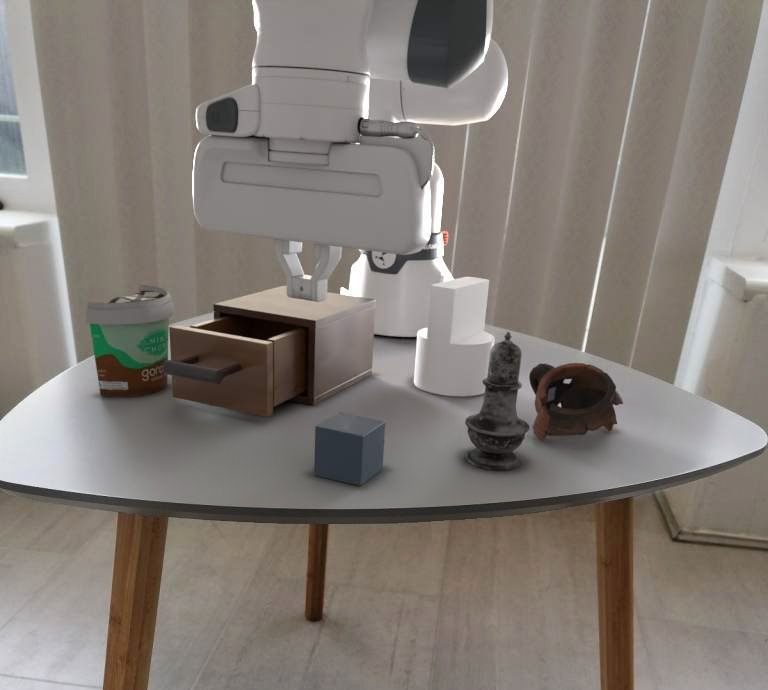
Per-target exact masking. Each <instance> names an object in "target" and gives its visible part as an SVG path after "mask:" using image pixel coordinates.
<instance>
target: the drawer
mask: <svg viewBox="0 0 768 690" xmlns="http://www.w3.org/2000/svg"><path fill="white" fill-rule="evenodd" d="M308 339H309V327H305V326H299V325H293V324H287V323H281V322H275V321H269V320H263V319H257V318H251V317H244V316H238V315H232V314H229V315H226V316H222V317H219V318H215V319H214V318H212V319H208V320H206V321H202V322H198V323H195V324H191V325H190V326H184V325H179V324H178V325H177V324H176V325H172V326H169V349H170V359H168V360H166V361H165V362H164V363H163V372H164V373H165V374H167V375H168V376H171V388H172V391H171V392H172V398H175V399H180V400H184V401H190V402H193V403H199V404H204V405H208V406H212V407H218V408H221V409H226V410H231V411H236V412H240V413H245V414H250V415H254V416H260V417H265V418H268V417H270V416H272V415H273V414H274V407H276V406H279V405H281V404H282V403H284V402H286V401H290V400H289V399H291V398H293V397H295V396H297V395H299V394H301V393H303V392H305V391H307V390H308Z"/></svg>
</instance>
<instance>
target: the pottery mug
mask: <svg viewBox="0 0 768 690" xmlns="http://www.w3.org/2000/svg"><path fill="white" fill-rule="evenodd" d="M565 380H570V382H569V383H566V382H565ZM529 383H530V386H531V389H532V391H533V393H534V395H535V397H534V408H535V412H536V414H537V415H536V417H535V419H534V422H533V425H532V433H533V434H534V436H535V437H537V439H538V440H539V441H540V442H543V441H544V440H545V439H546V438H547V436H550V437H551V436H552V437H562V436H584V435H586V434H588V431H591V432H595V431H598V430H599V429H600V428H603V427H604V428H605V429H606V430H607V431H608V432H612V431H613V428H614V426H615V425H618V420H617V414H616V411H615V408H614V406H619V405H623V404H624V401H623V398H622V396H621V395H620V393H619V392H618V390H617V386H616V383H615V382H614V381H613V378H612V377H611V376H610V375H609V374H608V373H607V372H605V371H604V370H603V369H601V368H599V367H597V366H595V365H592V364H587V363H584V362H569V363H565V364H562V365H558V366H556V367H555V366H554V365H551V364H548V363H539V364H537V365H536V366H533V367H532V369H531V371H530V372H529ZM559 405H560V406H559Z"/></svg>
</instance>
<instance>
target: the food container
mask: <svg viewBox="0 0 768 690" xmlns="http://www.w3.org/2000/svg"><path fill="white" fill-rule="evenodd" d="M174 305H175V304H174V301H173V298H172V297H171V295H170V293H169V291H168V289H166V288H164V287H160V286H157V285H153V284H145V283H138V291H137V292H136V293H133V294H131V295H121V296H119V295H118V296H116V297H113V298H112V299H111V300H109V301H108V302H95V301H86V311H85V323H86V324H89V327H90V334H91V341H92V347H93V355H94V361H95V368H96V374H97V381H98V388H99V394H100V396H103V397H123V398H124V397H138V396H145V395H150V394H155V393H156V392H157V393H158V392H160V391H162V390H164V389H165V388H166V387H167V386H168V376H169V375H167V374H165V373H164V372H163V363H164V362H165V361H166V360H169V336H170V333H169V327H170V318H171V317H173V316H174V315H175V314H176V309H175V306H174Z"/></svg>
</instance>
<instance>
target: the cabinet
mask: <svg viewBox="0 0 768 690" xmlns="http://www.w3.org/2000/svg"><path fill="white" fill-rule="evenodd" d="M212 305H213V307H212V309H213V319H215V318H219V317H222V316H226V315H229V314H232V315H238V316H244V317H251V318H257V319H263V320H269V321H275V322H281V323H287V324H293V325H299V326H305V327H309V339H308V390H307V391H305V392H303V393H301V394H299V395H297V396H295V397H293V398H291V399H289V400H288V401H291V402H296V403H301V404H305V405H311V406H315V405H317V404H318V403H321V402H322V401H324V400H326V399H328V398H330V397H332V396H334V395H336V394H338V393H340V392H342V391H343V390H345V389H347V388H350V387H351V386H353V385H355V384H357V383H359V382H360V381H362V380H364V379H367V378H368V377H370V376H372V375H373V362H374V361H373V358H374V342H375V334H374V324H375V305H376V299H370V298H363V297H356V296H350V295H343V294H341V293H335V292H330V291H327V297H326V299H325V300H324V301H320V302H316V301H309V300H304V299H297V298H290V297H288V296H287V285H280V286H276V287H273V288H269V289H267V290H266V289H265V290H261V291H259V292H254V293H250V294H246V295H243V296H238V297H235V298H232V299H227V300H224V301H220V302H215V303H213V304H212Z"/></svg>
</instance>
